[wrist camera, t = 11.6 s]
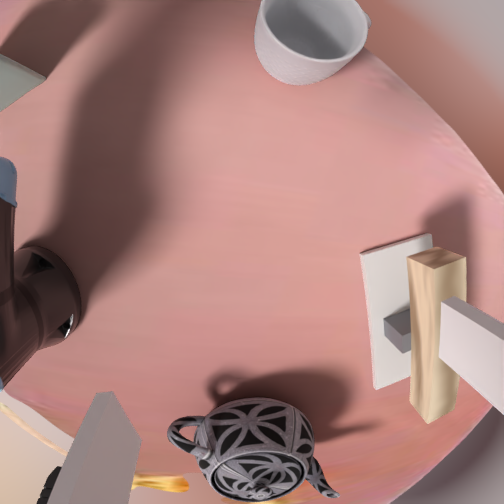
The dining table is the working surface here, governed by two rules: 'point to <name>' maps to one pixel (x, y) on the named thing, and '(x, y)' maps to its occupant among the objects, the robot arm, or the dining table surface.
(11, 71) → the planter
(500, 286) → the dining table surface
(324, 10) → the mug
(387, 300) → the fulcrum
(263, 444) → the teapot
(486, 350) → the robot arm
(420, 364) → the wooden beam
